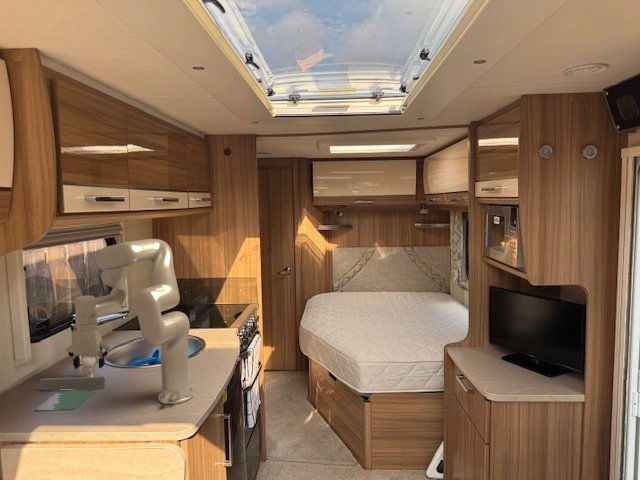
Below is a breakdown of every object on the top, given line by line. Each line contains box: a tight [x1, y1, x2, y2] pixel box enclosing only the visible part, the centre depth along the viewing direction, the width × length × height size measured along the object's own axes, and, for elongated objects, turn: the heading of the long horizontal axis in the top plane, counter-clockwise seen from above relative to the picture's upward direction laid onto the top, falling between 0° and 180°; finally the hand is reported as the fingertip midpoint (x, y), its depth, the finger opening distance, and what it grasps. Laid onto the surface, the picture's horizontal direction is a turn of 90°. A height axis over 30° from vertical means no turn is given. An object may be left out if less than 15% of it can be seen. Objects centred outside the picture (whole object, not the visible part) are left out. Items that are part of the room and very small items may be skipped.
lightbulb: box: [80, 355, 99, 377], centre depth 176 cm, size 6×6×11 cm
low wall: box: [38, 376, 107, 391], centre depth 166 cm, size 1×24×4 cm, turn 93°
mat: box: [33, 390, 94, 411], centre depth 156 cm, size 14×14×1 cm
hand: (89, 367), depth 176 cm, fingers open, 9 cm apart
